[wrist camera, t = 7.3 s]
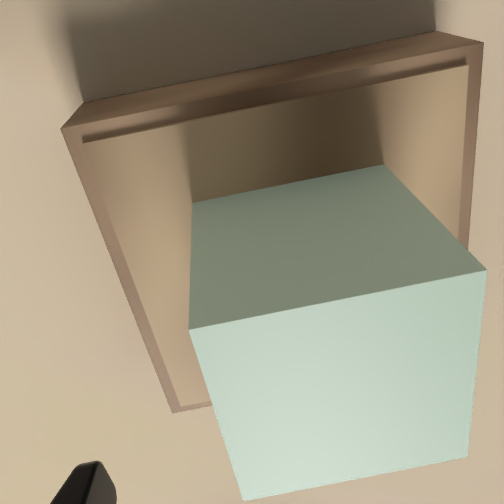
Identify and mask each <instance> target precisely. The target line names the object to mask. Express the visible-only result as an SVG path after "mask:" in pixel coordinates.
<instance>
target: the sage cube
mask: <svg viewBox="0 0 504 504" xmlns="http://www.w3.org/2000/svg"><path fill="white" fill-rule="evenodd" d="M486 277H487V269H486V268H485V267H484V266H483V265H482V264H481V263H480V262H479V261H478V260H477V259H476V258H475V257H474V256H473V255H472V254H471V253H470V252H469V251H468V250H467V249H466V248H465V247H464V246H463V245H462V244H461V243H460V242H459V241H458V240H457V239H456V238H455V237H454V236H453V234H452V233H451V232H450V231H449V230H448V229H447V228H446V227H445V226H444V225H443V224H442V223H441V222H440V221H439V220H438V219H437V218H436V217H435V216H434V215H433V214H432V213H431V212H430V211H429V210H428V209H427V208H426V207H425V206H424V205H423V204H422V203H421V202H420V201H419V200H418V199H417V197H416V196H415V195H414V194H413V193H412V192H411V191H410V190H409V189H408V188H407V187H406V186H405V185H404V184H403V183H402V182H401V181H400V180H399V179H398V178H397V177H396V176H395V175H394V174H393V173H392V172H391V171H390V170H389V169H388V168H387V167H386V166H385V165H384V164H382V165H377V166H373V167H368V168H363V169H358V170H353V171H348V172H343V173H338V174H333V175H328V176H323V177H318V178H313V179H308V180H303V181H298V182H293V183H288V184H283V185H278V186H273V187H269V188H264V189H259V190H254V191H249V192H244V193H239V194H234V195H229V196H224V197H219V198H214V199H209V200H204V201H199V202H194V203H192V224H191V258H190V293H189V327H188V330H189V333H190V336H191V340H192V343H193V346H194V349H195V352H196V355H197V358H198V361H199V364H200V368H201V371H202V374H203V377H204V380H205V383H206V386H207V389H208V393H209V396H210V399H211V402H212V405H213V408H214V411H215V414H216V417H217V421H218V424H219V427H220V430H221V433H222V436H223V439H224V442H225V445H226V449H227V452H228V455H229V458H230V461H231V464H232V467H233V470H234V473H235V477H236V480H237V483H238V486H239V489H240V492H241V495H242V498H243V501H248V500H253V499H258V498H263V497H268V496H273V495H278V494H283V493H288V492H293V491H298V490H303V489H308V488H313V487H318V486H324V485H329V484H334V483H339V482H344V481H349V480H354V479H359V478H364V477H369V476H374V475H379V474H384V473H389V472H394V471H399V470H404V469H409V468H414V467H420V466H425V465H430V464H435V463H440V462H445V461H450V460H455V459H460V458H465V457H467V455H468V445H469V436H470V427H471V417H472V408H473V398H474V389H475V380H476V370H477V361H478V352H479V342H480V333H481V323H482V314H483V305H484V295H485V286H486Z"/></svg>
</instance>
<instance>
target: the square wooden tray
mask: <svg viewBox="0 0 504 504" xmlns="http://www.w3.org/2000/svg"><path fill="white" fill-rule="evenodd" d="M483 47H484V42H480V41H476V40H472V39H468V38H464V37H460V36H455V35H451V34H447V33H443V32H439V31H435V32H430V33H425V34H420V35H415V36H410V37H405V38H400V39H395V40H390V41H386V42H381V43H376V44H371V45H366V46H361V47H356V48H351V49H346V50H342V51H337V52H332V53H327V54H322V55H317V56H312V57H307V58H302V59H297V60H293V61H288V62H283V63H278V64H273V65H268V66H263V67H258V68H253V69H248V70H244V71H239V72H234V73H229V74H224V75H219V76H214V77H209V78H204V79H199V80H195V81H190V82H185V83H180V84H175V85H170V86H165V87H160V88H155V89H150V90H146V91H141V92H136V93H131V94H126V95H121V96H116V97H111V98H106V99H101V100H97V101H92V102H87V103H83V104H82V105H81V106H80V107H79V108H78V109H77V111H76V112H75V113H74V114H73V115H72V116H71V117H70V118H69V120H68V121H67V122H66V123H65V124H64V125H63V126H62V127H61V128H60V129H61V132H62V134H63V137H64V139H65V142H66V144H67V147H68V150H69V152H70V155H71V157H72V160H73V162H74V165H75V167H76V170H77V172H78V175H79V177H80V180H81V183H82V185H83V188H84V190H85V193H86V195H87V198H88V200H89V203H90V205H91V208H92V211H93V213H94V216H95V218H96V221H97V223H98V226H99V228H100V231H101V233H102V236H103V238H104V241H105V244H106V246H107V249H108V251H109V254H110V256H111V259H112V261H113V264H114V266H115V269H116V271H117V274H118V277H119V279H120V282H121V284H122V287H123V289H124V292H125V294H126V297H127V299H128V302H129V305H130V307H131V310H132V312H133V315H134V317H135V320H136V322H137V325H138V327H139V330H140V332H141V335H142V338H143V340H144V343H145V345H146V348H147V350H148V353H149V355H150V358H151V360H152V363H153V365H154V368H155V371H156V373H157V376H158V378H159V381H160V383H161V386H162V388H163V391H164V393H165V396H166V399H167V401H168V404H169V406H170V409H171V411H172V413H177V412H182V411H187V410H192V409H197V408H202V407H207V406H212V402H211V399H210V396H209V393H208V389H207V386H206V383H205V380H204V377H203V374H202V371H201V368H200V364H199V361H198V358H197V355H196V352H195V349H194V346H193V343H192V340H191V336H190V333H189V330H188V327H189V293H190V258H191V224H192V203H194V202H199V201H204V200H209V199H214V198H219V197H224V196H229V195H234V194H239V193H244V192H249V191H254V190H259V189H264V188H269V187H273V186H278V185H283V184H288V183H293V182H298V181H303V180H308V179H313V178H318V177H323V176H328V175H333V174H338V173H343V172H348V171H353V170H358V169H363V168H368V167H373V166H377V165H382V164H384V165H385V166H386V167H387V168H388V169H389V170H390V171H391V172H392V173H393V174H394V175H395V176H396V177H397V178H398V179H399V180H400V181H401V182H402V183H403V184H404V185H405V186H406V187H407V188H408V189H409V190H410V191H411V192H412V193H413V194H414V195H415V196H416V197H417V199H418V200H419V201H420V202H421V203H422V204H423V205H424V206H425V207H426V208H427V209H428V210H429V211H430V212H431V213H432V214H433V215H434V216H435V217H436V218H437V219H438V220H439V221H440V222H441V223H442V224H443V225H444V226H445V227H446V228H447V229H448V230H449V231H450V232H451V233H452V234H453V236H454V237H455V238H456V239H457V240H458V241H459V242H460V243H461V244H462V245H463V246H464V247H465V248H466V249H467V250H468V240H469V227H470V214H471V202H472V189H473V176H474V163H475V150H476V137H477V124H478V111H479V99H480V86H481V73H482V60H483Z"/></svg>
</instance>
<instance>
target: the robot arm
mask: <svg viewBox="0 0 504 504" xmlns="http://www.w3.org/2000/svg"><path fill="white" fill-rule="evenodd" d="M116 502H117V496H116V489H115V486H114V484H113V482H112V480H111V478H110V476H109V475H108V473H107V471H106V469H105V467H104V466H103V464H102V463H101V462H99V461H93V462H88V463H83V464H80V465H78V466H76V467H75V468H74V470H73V471H72V473H71V474H70V475H69V477H68V478H67V480H66V481H65V483H64V484H63V486H62V487H61V489H60V490H59V491H58V493H57V494H56V496H55V497H54V499H53V500H52V502H51V503H50V504H116Z"/></svg>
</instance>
